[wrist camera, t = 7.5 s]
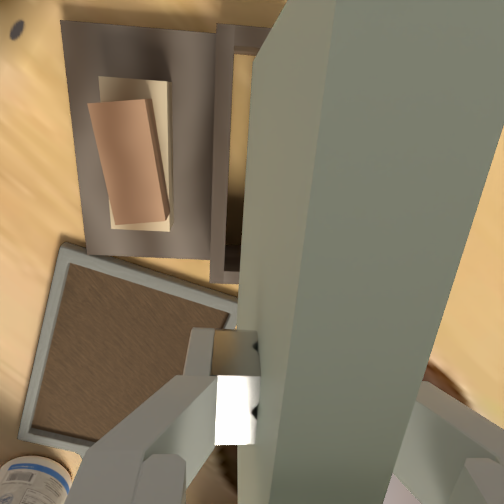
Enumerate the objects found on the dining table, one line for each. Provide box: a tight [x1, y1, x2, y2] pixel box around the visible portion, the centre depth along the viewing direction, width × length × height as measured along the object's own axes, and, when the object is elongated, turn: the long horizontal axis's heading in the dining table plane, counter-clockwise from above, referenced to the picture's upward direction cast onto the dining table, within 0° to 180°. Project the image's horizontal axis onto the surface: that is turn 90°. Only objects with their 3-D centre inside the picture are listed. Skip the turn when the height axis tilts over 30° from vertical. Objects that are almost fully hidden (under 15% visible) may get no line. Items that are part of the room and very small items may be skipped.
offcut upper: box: [87, 99, 170, 225], centre depth 29 cm, size 4×9×2 cm, turn 4°
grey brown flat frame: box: [17, 242, 238, 460], centre depth 43 cm, size 19×2×30 cm
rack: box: [60, 20, 272, 284], centre depth 31 cm, size 18×19×6 cm
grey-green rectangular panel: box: [237, 0, 504, 504], centre depth 13 cm, size 2×14×16 cm, turn 176°
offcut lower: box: [98, 76, 174, 232], centre depth 31 cm, size 5×12×2 cm, turn 176°
